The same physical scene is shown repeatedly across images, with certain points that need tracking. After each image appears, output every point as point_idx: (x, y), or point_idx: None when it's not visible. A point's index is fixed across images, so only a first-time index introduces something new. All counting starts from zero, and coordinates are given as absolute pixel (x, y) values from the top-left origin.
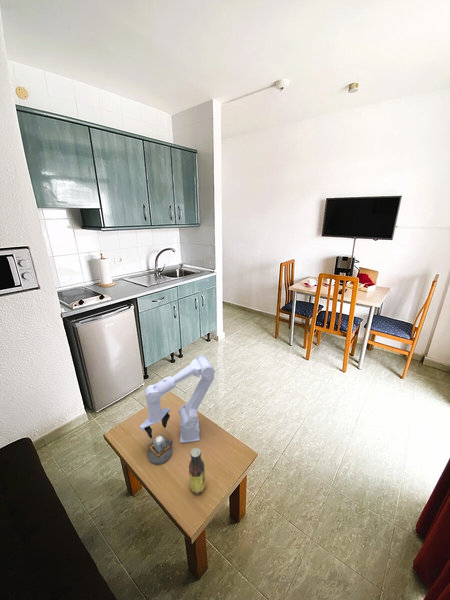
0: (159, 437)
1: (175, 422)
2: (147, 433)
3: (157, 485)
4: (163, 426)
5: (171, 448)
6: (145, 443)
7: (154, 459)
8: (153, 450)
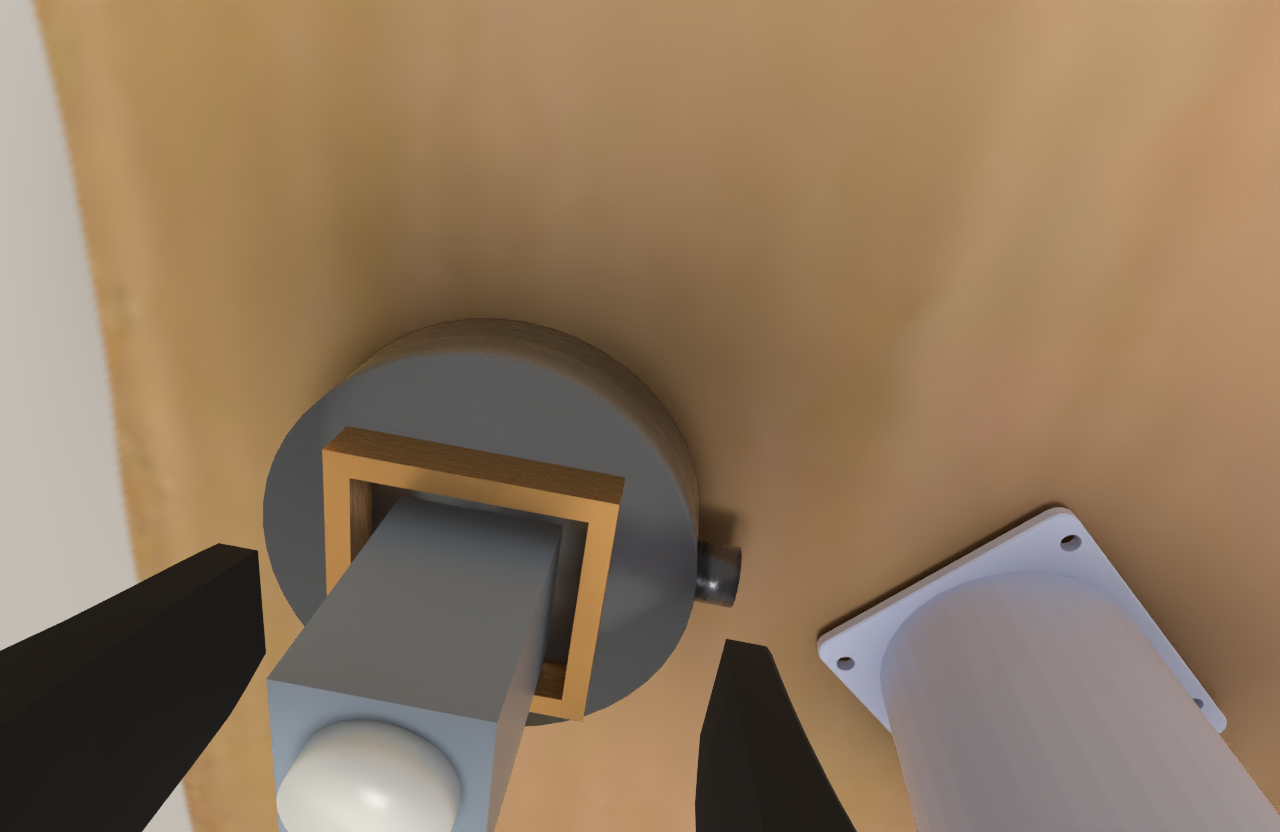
0: (388, 815)
1: (1189, 298)
2: (111, 613)
3: (234, 719)
4: (715, 684)
5: (601, 705)
6: (453, 130)
7: (303, 611)
8: (341, 552)
